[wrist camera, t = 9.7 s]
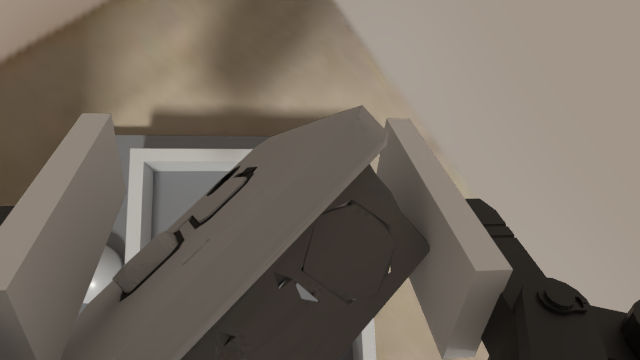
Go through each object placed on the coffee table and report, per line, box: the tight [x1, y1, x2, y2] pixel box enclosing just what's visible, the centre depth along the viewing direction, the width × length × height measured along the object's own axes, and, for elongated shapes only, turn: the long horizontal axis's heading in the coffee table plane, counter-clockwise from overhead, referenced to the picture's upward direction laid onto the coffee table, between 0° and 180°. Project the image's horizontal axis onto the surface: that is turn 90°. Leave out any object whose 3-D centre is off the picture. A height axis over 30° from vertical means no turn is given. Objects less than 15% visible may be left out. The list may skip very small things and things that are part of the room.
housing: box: [77, 135, 376, 360], centre depth 28 cm, size 20×18×4 cm
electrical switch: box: [60, 105, 430, 360], centre depth 12 cm, size 9×5×9 cm, turn 136°
